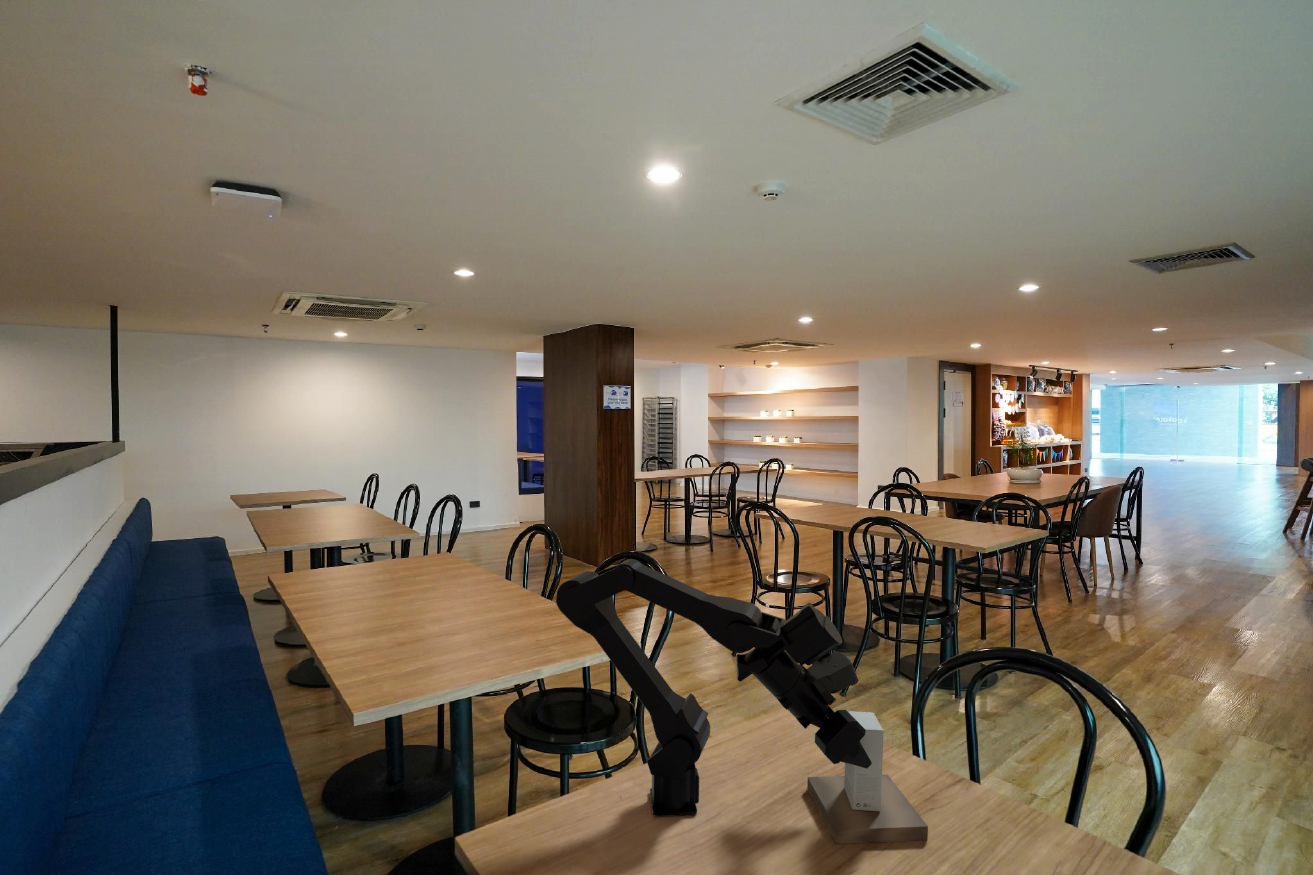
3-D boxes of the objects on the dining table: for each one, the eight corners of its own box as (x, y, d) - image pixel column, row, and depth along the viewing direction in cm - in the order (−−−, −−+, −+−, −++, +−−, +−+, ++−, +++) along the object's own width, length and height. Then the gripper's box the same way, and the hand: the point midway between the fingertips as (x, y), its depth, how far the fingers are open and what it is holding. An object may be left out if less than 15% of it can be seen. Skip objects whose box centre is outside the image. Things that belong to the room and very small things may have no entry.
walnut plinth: (836, 843, 91) (837, 829, 91) (807, 789, 104) (807, 776, 104) (927, 840, 92) (928, 826, 92) (887, 786, 105) (887, 774, 105)
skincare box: (881, 812, 95) (884, 731, 95) (851, 810, 96) (854, 729, 95) (871, 788, 101) (874, 711, 101) (843, 786, 102) (845, 710, 101)
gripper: (854, 663, 87) (927, 740, 89) (799, 617, 105) (861, 682, 108) (795, 725, 86) (870, 801, 88) (749, 668, 104) (813, 732, 107)
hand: (853, 748), depth 98 cm, fingers open, 9 cm apart
